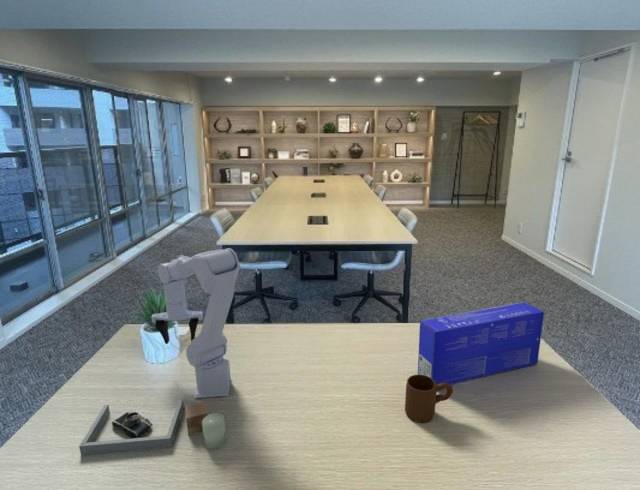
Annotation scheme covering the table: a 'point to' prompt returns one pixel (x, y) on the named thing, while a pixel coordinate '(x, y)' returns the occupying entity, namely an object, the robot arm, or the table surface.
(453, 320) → the toner cartridge box
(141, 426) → the camera
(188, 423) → the walnut block
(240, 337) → the table surface
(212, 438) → the rounded green capsule
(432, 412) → the mug
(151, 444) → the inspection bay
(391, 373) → the table surface
